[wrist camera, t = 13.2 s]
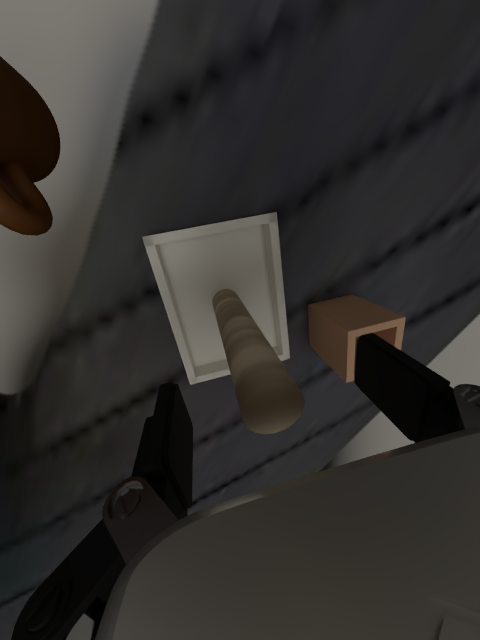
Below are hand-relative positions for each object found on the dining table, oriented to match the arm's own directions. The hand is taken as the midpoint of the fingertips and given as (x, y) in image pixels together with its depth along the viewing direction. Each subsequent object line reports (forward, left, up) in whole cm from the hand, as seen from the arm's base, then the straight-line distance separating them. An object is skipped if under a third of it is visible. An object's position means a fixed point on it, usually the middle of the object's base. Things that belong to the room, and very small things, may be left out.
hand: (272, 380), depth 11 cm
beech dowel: (0, 0, -15) cm, 15 cm away
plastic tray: (0, 0, -16) cm, 16 cm away
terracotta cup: (+6, +13, -16) cm, 21 cm away
